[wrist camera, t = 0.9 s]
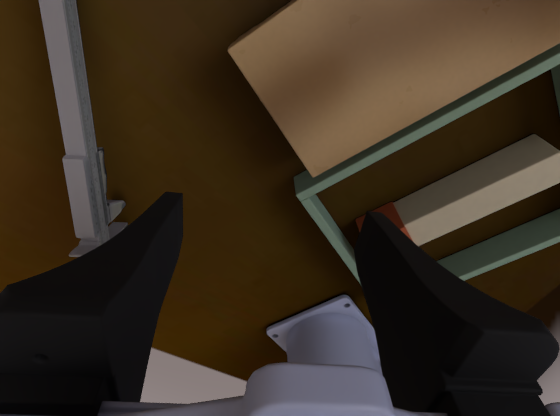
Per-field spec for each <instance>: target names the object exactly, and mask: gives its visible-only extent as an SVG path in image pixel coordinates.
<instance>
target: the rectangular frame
mask: <svg viewBox="0 0 560 416" xmlns="http://www.w3.org/2000/svg"><path fill="white" fill-rule="evenodd" d="M549 69H551V73H552V78H553V83H554V88H555V94H556V99H557V104H558V109H559V115H560V43H559V44H557V45H555V46H554V47H552V48H550V49H548V50H546V51H544V52H543V53H541V54H539V55H537V56H535V57H533V58H532V59H530V60H528V61H526V62H524V63H523V64H521V65H519V66H517V67H515V68H513V69H512V70H510V71H508V72H506V73H504V74H502V75H501V76H499V77H497V78H495V79H493V80H491V81H490V82H488V83H486V84H484V85H482V86H480V87H479V88H477V89H475V90H473V91H471V92H469V93H468V94H466V95H464V96H462V97H460V98H458V99H457V100H455V101H453V102H451V103H449V104H447V105H446V106H444V107H442V108H440V109H438V110H436V111H435V112H433V113H431V114H429V115H427V116H425V117H424V118H422V119H420V120H418V121H416V122H414V123H413V124H411V125H409V126H407V127H405V128H403V129H402V130H400V131H398V132H396V133H394V134H392V135H391V136H389V137H387V138H385V139H383V140H381V141H380V142H378V143H376V144H374V145H372V146H370V147H369V148H367V149H365V150H363V151H361V152H360V153H358V154H356V155H354V156H352V157H350V158H349V159H347V160H345V161H343V162H341V163H339V164H338V165H336V166H334V167H332V168H330V169H328V170H327V171H325V172H323V173H321V174H319V175H317V176H316V177H312V176H311V175H310V173H309V172H308V170H306V171H304V172H302V173H300V174H298V175H297V176H295V177H294V185H295V192H296V196H297V198H298V199H299V200H300V201H301V203H302V205H303V206H304V207H305V209H306V210H307V212H308V213H309V214H310V216H311V217H312V218H313V220H314V221H315V223H316V224H317V225H318V227H319V228H320V229H321V231H322V232H323V234H324V235H325V236H326V238H327V239H328V240H329V242H330V243H331V245H332V246H333V247H334V249H335V250H336V251H337V253H338V254H339V256H340V257H341V258H342V260H343V261H344V262H345V264H346V265H347V267H348V268H349V269H350V271H351V272H352V273H353V275H354V276H355V278H356V279H357V280H358V282H359V283H360V280H359V276H358V273H357V268H356V262H355V255H354V249H353V248H352V246H351V245H350V243H349V242H348V241H347V239H346V238H345V236H344V235H343V233H342V232H341V230H340V229H339V227H338V226H337V225H336V223H335V222H334V220H333V219H332V217H331V216H330V214H329V213H328V211H327V210H326V209H325V207H324V206H323V204H322V203H321V201H320V200H319V198H318V197H317V195H316V193H318V192H320V191H322V190H324V189H325V188H327V187H329V186H331V185H333V184H335V183H337V182H339V181H340V180H342V179H344V178H346V177H348V176H350V175H352V174H354V173H356V172H357V171H359V170H361V169H363V168H365V167H367V166H369V165H371V164H372V163H374V162H376V161H378V160H380V159H382V158H384V157H386V156H388V155H389V154H391V153H393V152H395V151H397V150H399V149H401V148H403V147H404V146H406V145H408V144H410V143H412V142H414V141H416V140H418V139H420V138H421V137H423V136H425V135H427V134H429V133H431V132H433V131H435V130H436V129H438V128H440V127H442V126H444V125H446V124H448V123H450V122H452V121H453V120H455V119H457V118H459V117H461V116H463V115H465V114H467V113H468V112H470V111H472V110H474V109H476V108H478V107H480V106H482V105H484V104H485V103H487V102H489V101H491V100H493V99H495V98H497V97H499V96H500V95H502V94H504V93H506V92H508V91H510V90H512V89H514V88H516V87H517V86H519V85H521V84H523V83H525V82H527V81H529V80H531V79H532V78H534V77H536V76H538V75H540V74H542V73H544V72H546V71H548V70H549ZM558 242H560V209H558V210H555V211H553V212H551V213H548V214H546V215H544V216H541V217H539V218H537V219H534V220H532V221H530V222H527V223H525V224H523V225H520V226H518V227H516V228H513V229H511V230H509V231H506V232H504V233H502V234H499V235H497V236H495V237H492V238H490V239H488V240H485V241H483V242H481V243H478V244H476V245H474V246H471V247H469V248H467V249H464V250H462V251H460V252H457V253H455V254H453V255H450V256H448V257H446V258H443V259H441V260H439V261H436V262H438V263H439V264H440V265H442V266H443V267H444V268H446V269H447V270H448V271H450V272H451V273H453V274H454V275H456V276H457V277H459V278H460V279H462V280H463V281H464V280H467V279H469V278H472V277H474V276H476V275H479V274H481V273H484V272H486V271H489V270H491V269H494V268H496V267H499V266H501V265H504V264H506V263H508V262H511V261H513V260H516V259H518V258H521V257H523V256H526V255H528V254H531V253H533V252H536V251H538V250H541V249H543V248H545V247H548V246H550V245H553V244H555V243H558ZM360 284H361V283H360Z"/></svg>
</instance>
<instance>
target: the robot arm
mask: <svg viewBox="0 0 560 416" xmlns="http://www.w3.org/2000/svg"><path fill="white" fill-rule="evenodd" d="M182 238H183V193H173V192H165V193H164V194H163V195H162V196H161V197H160V198H159V199H158V200H157V201H155V202H154V203H153V204H152V205H151V206H150V207H149V208H148V209H147V210H146V211H145V212H144V213H143V214H141V215H140V216H139V217H138V218H137V219H136V220H135V221H133V222H132V223H131V224H130V225H128V226H127V227H126V228H125V229H123V230H122V231H121V232H119V233H118V234H117V235H115V236H114V237H113V238H111V239H110V240H108V241H106V242H105V243H103V244H102V245H100V246H98V247H97V248H95V249H93V250H91V251H89V252H88V253H86V254H84V255H82V256H80V257H78V258H76V259H74V260H72V261H70V262H68V263H66V264H63V265H61V266H59V267H57V268H54V269H52V270H49V271H47V272H44V273H42V274H39V275H36V276H33V277H30V278H27V279H25V280H22V281H19V282H16V283H13V284H9V285H7V286H6V287H5V289H4V290H3V291H2V292H1V293H0V416H560V403H559V402H557V403H550V404H547V405H545V406H544V404H543V403H542V401H541V399H540V398H539V396H538V395H541V394H542V393H543V392H542V389H541V387H540V386H539V384H538V382H537V379H538V378H539V377H540V376H541V375H542V374H543V373H544V372H545V371H546V370H547V369H548V368H549V367H550V366H551V365H552V363H553V362H554V361H555V359H556V358H557V356H558V352H559V345H558V342H557V341H556V339H555V338H554V337H553V335H552V334H551V333H550V331H549V330H548V329H547V327H546V326H545V325H544V323H543V322H542V321H541V320H540V319H537V318H535V317H533V316H530V315H528V314H526V313H524V312H521V311H519V310H517V309H515V308H512V307H510V306H508V305H506V304H504V303H502V302H500V301H498V300H496V299H494V298H492V297H490V296H489V295H487V294H485V293H483V292H481V291H480V290H478V289H476V288H475V287H473V286H471V285H470V284H468V283H466V282H465V281H463V280H462V279H460V278H459V277H457V276H456V275H454V274H453V273H451V272H450V271H448V270H447V269H446V268H444V267H443V266H442V265H440V264H439V263H438V262H436V261H435V260H434V259H433V258H431V257H430V256H429V255H428V254H427V253H425V252H424V251H423V250H422V249H421V248H420V247H418V246H417V245H416V244H415V243H414V242H413V241H412V240H411V239H410V238H409V237H408V236H406V235H405V234H404V233H403V232H402V231H401V230H400V229H399V228H398V227H397V226H396V225H395V224H394V223H393V222H392V221H391V220H390V219H389V218H387V217H386V216H385V215H384V214H383V213H382V212H372V211H367V212H366V215H365V218H364V221H363V224H362V227H361V230H360V233H359V236H358V239H357V242H356V245H355V248H354V255H355V262H356V268H357V273H358V276H359V280H360V283H361V286H362V290H363V293H364V296H365V299H366V302H367V306H368V309H369V312H370V315H371V318H372V322H373V326H374V328H373V327H372V325H371V324H370V323H369V322H368V320H367V319H366V318H365V316H364V315H363V314H362V313H361V311H360V310H359V309H358V307H357V306H356V305H355V304H354V302H353V301H352V300H351V298H350V297H349V296H348V295H341V296H338V297H336V298H334V299H331V300H329V301H327V302H325V303H322V304H320V305H318V306H315V307H313V308H311V309H308V310H306V311H304V312H302V313H299V314H297V315H295V316H292V317H290V318H288V319H285V320H283V321H281V322H279V323H276V324H274V325H272V326H269V327H268V328H267V335H268V336H269V337H270V338H272V339H273V340H274V341H275V342H276V343H277V344H278V345H279V346H280V347H281V348H282V349H283V350H284V351H285V352H286V353H287V360H288V362H282V363H273V364H268V365H266V366H264V367H261V368H259V369H257V370H256V371H254V372H253V373H252V375H251V376H250V378H249V379H248V381H247V385H246V392H245V395H244V396H238V397H232V398H224V399H218V400H212V401H205V402H198V403H191V404H173V403H172V404H171V403H144V402H140V399H141V393H142V388H143V383H144V379H145V374H146V369H147V364H148V360H149V355H150V350H151V346H152V342H153V337H154V333H155V329H156V324H157V320H158V316H159V313H160V309H161V306H162V303H163V300H164V297H165V295H166V292H167V289H168V286H169V283H170V280H171V278H172V275H173V272H174V269H175V266H176V263H177V260H178V257H179V252H180V248H181V243H182ZM347 303H348V304H347Z"/></svg>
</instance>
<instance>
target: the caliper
mask: <svg viewBox="0 0 560 416" xmlns="http://www.w3.org/2000/svg"><path fill="white" fill-rule="evenodd" d="M39 5H40V11H41V17H42V22H43V28H44V33H45V39H46V45H47V50H48V56H49V62H50V67H51V73H52V78H53V84H54V90H55V95H56V101H57V107H58V112H59V118H60V124H61V129H62V135H63V140H64V146H65V152H66V155H65V156H64V157H63V159H62V160H63V166H64V171H65V177H66V183H67V189H68V194H69V200H70V206H71V212H72V217H73V223H74V229H75V234H76V237H77V238H81V241H80V242H79V245H78V246H77V247H76V248H75V249H73V250H72V251H71V253H70V254H69V256H70V257H80V256H82V255H84V254H86V253H88V252H89V251H91V250H93V249H95V248H97V247H98V246H100V245H102V244H103V243H105V242H106V241H108V240H110V239H111V238H113V237H114V236H115V235H117V234H118V233H119V232H121V231H122V230H123V229H125V228H126V227H127V226H128V223H125V222H112V221H113V220H114V219H115V218H116V217H117V215H118V214H119V213H120V212H121V210H122V209H123V208H124V207H125V205H126V204H125V202H124V201H123V200H107V197H106V191H107V173H106V169H105V164H104V150H103V148H102V147H97V143H96V136H95V129H94V122H93V115H92V108H91V101H90V94H89V87H88V80H87V73H86V66H85V59H84V52H83V45H82V38H81V30H80V23H79V16H78V9H77V1H76V0H39ZM110 222H112V224H111V225H110V226H109V227H108V224H109V223H110Z"/></svg>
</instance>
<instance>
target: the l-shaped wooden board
mask: <svg viewBox="0 0 560 416" xmlns="http://www.w3.org/2000/svg"><path fill="white" fill-rule="evenodd" d="M559 43H560V0H292V1H290V2H289V3H288V4H286V5H285V6H283V7H282V8H281V9H279V10H278V11H276V12H275V13H274V14H272V15H271V16H269V17H268V18H267V19H265V20H264V21H262V22H261V23H260V24H258V25H257V26H254V27H252V28H251V29H250V30H248V31H247V32H245V33H244V34H243V35H241V36H240V37H238V38H237V40H236V41H234V42H233V43H231V44H230V45H229V47H228V53H229V54H230V56H231V57H232V59H233V60H234V61H235V63H236V64H237V66H238V67H239V69H240V70H241V72H242V73H243V75H244V76H245V78H246V79H247V81H248V82H249V84H250V85H251V87H252V88H253V90H254V91H255V93H256V94H257V96H258V97H259V99H260V100H261V102H262V103H263V105H264V106H265V108H266V109H267V111H268V112H269V114H270V115H271V117H272V118H273V120H274V121H275V123H276V124H277V125H278V127H279V128H280V130H281V131H282V133H283V134H284V136H285V137H286V139H287V140H288V142H289V143H290V145H291V146H292V148H293V149H294V151H295V152H296V154H297V155H298V157H299V158H300V160H301V161H302V163H303V164H304V166H305V167H306V169H307V170H308V172H309V173H310V175H311V176H312V177H316V176H317V175H319V174H321V173H323V172H325V171H327V170H328V169H330V168H332V167H334V166H336V165H338V164H339V163H341V162H343V161H345V160H347V159H349V158H350V157H352V156H354V155H356V154H358V153H360V152H361V151H363V150H365V149H367V148H369V147H370V146H372V145H374V144H376V143H378V142H380V141H381V140H383V139H385V138H387V137H389V136H391V135H392V134H394V133H396V132H398V131H400V130H402V129H403V128H405V127H407V126H409V125H411V124H413V123H414V122H416V121H418V120H420V119H422V118H424V117H425V116H427V115H429V114H431V113H433V112H435V111H436V110H438V109H440V108H442V107H444V106H446V105H447V104H449V103H451V102H453V101H455V100H457V99H458V98H460V97H462V96H464V95H466V94H468V93H469V92H471V91H473V90H475V89H477V88H479V87H480V86H482V85H484V84H486V83H488V82H490V81H491V80H493V79H495V78H497V77H499V76H501V75H502V74H504V73H506V72H508V71H510V70H512V69H513V68H515V67H517V66H519V65H521V64H523V63H524V62H526V61H528V60H530V59H532V58H533V57H535V56H537V55H539V54H541V53H543V52H544V51H546V50H548V49H550V48H552V47H554V46H555V45H557V44H559Z"/></svg>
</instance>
